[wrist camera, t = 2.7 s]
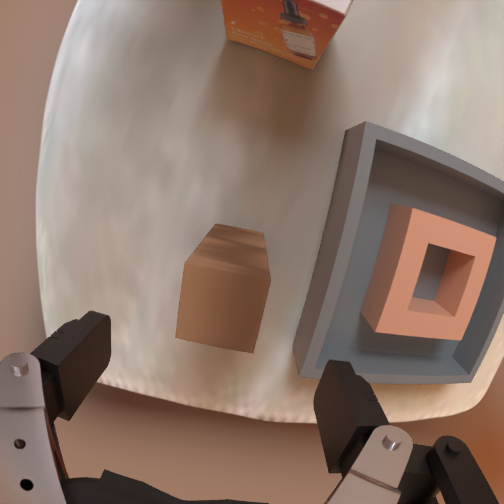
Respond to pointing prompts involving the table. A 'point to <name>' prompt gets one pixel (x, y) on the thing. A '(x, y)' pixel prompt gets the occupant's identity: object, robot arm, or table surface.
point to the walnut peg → (224, 289)
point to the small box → (285, 26)
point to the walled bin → (405, 265)
